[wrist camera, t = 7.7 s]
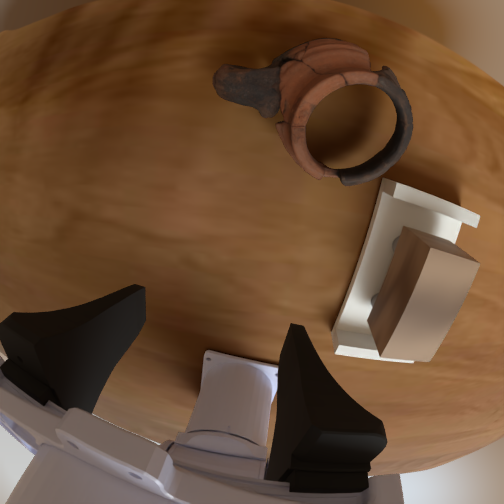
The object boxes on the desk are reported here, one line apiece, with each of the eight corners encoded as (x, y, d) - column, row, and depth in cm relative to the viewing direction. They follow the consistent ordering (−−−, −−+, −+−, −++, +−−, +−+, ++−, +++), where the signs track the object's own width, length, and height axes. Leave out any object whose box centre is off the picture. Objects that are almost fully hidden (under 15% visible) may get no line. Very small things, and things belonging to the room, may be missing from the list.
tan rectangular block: (411, 327, 20) (429, 361, 16) (366, 320, 20) (379, 357, 16) (449, 240, 17) (480, 263, 13) (403, 225, 17) (430, 247, 13)
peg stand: (404, 343, 23) (413, 363, 21) (331, 332, 24) (334, 354, 21) (461, 206, 18) (480, 215, 15) (382, 177, 18) (396, 182, 16)
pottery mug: (377, 50, 15) (444, 80, 10) (350, 147, 22) (392, 207, 17) (218, 22, 14) (214, 24, 8) (211, 136, 21) (207, 198, 15)
